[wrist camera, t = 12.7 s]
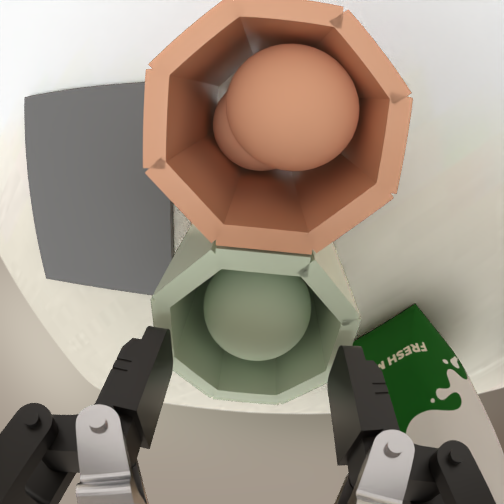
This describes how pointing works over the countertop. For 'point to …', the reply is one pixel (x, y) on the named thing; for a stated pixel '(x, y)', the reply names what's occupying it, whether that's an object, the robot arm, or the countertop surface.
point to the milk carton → (433, 392)
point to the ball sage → (256, 313)
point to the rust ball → (232, 141)
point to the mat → (96, 189)
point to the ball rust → (292, 107)
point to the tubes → (265, 190)
